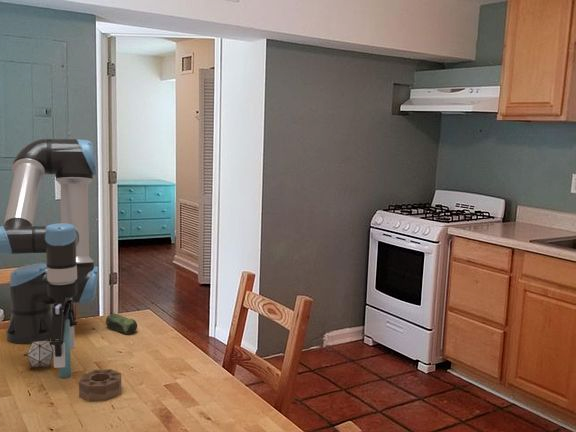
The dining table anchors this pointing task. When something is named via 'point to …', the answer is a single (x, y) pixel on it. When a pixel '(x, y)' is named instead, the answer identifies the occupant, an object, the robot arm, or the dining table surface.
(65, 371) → the teal rounded stick
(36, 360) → the game die
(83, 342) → the dining table surface
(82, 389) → the bead
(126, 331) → the vegetable
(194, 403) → the dining table surface
